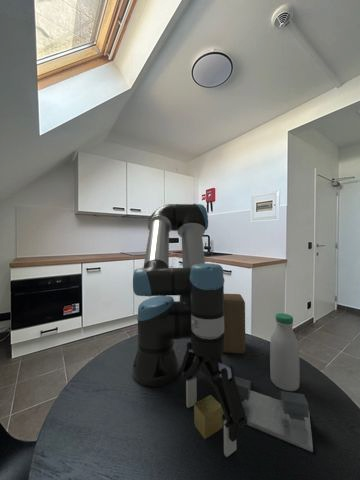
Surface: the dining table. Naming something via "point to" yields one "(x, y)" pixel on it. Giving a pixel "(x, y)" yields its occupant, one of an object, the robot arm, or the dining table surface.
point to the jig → (277, 414)
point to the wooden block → (234, 323)
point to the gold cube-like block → (208, 416)
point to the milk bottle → (284, 354)
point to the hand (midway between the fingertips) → (208, 425)
